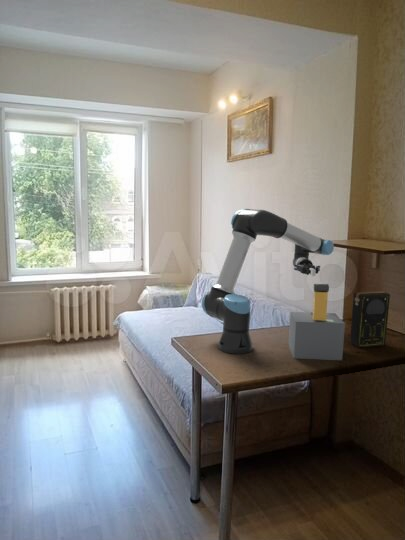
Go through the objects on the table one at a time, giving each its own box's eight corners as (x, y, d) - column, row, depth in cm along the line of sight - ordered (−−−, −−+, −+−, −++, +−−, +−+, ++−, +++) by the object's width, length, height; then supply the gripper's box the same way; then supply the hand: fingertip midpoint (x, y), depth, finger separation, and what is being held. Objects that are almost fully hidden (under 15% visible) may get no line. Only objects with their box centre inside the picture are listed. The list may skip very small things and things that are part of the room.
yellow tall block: (313, 320, 177) (315, 284, 174) (311, 318, 180) (313, 283, 177) (326, 320, 176) (329, 285, 174) (324, 318, 179) (327, 283, 177)
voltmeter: (358, 348, 191) (362, 295, 187) (347, 342, 200) (351, 291, 196) (387, 346, 196) (392, 293, 191) (375, 340, 204) (379, 289, 200)
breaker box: (293, 358, 178) (296, 321, 176) (288, 345, 194) (290, 311, 191) (342, 360, 177) (345, 323, 175) (332, 347, 193) (335, 312, 190)
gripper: (316, 273, 216) (327, 281, 192) (290, 272, 216) (298, 280, 193) (317, 258, 214) (328, 265, 191) (291, 257, 215) (299, 264, 192)
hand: (313, 273), depth 192 cm, fingers closed
